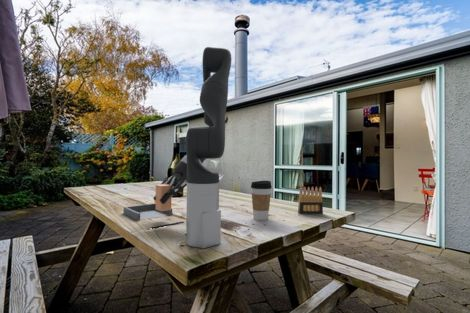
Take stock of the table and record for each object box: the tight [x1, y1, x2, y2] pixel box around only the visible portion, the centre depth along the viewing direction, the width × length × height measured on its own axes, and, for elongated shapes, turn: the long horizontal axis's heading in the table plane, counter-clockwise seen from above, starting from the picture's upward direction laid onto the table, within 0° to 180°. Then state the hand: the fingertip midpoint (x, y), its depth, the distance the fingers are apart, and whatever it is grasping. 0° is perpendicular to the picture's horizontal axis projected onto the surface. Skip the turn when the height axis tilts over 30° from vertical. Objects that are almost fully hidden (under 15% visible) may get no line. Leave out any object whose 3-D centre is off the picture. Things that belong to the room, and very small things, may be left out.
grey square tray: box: [123, 202, 173, 221], centre depth 101 cm, size 15×14×4 cm
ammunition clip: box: [297, 186, 324, 215], centre depth 110 cm, size 11×2×12 cm, turn 94°
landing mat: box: [150, 221, 185, 230], centre depth 91 cm, size 9×12×1 cm
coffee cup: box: [250, 180, 273, 221], centre depth 100 cm, size 8×8×15 cm
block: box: [155, 183, 172, 211], centre depth 91 cm, size 4×4×9 cm
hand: (158, 201), depth 90 cm, fingers closed on block, 4 cm apart
